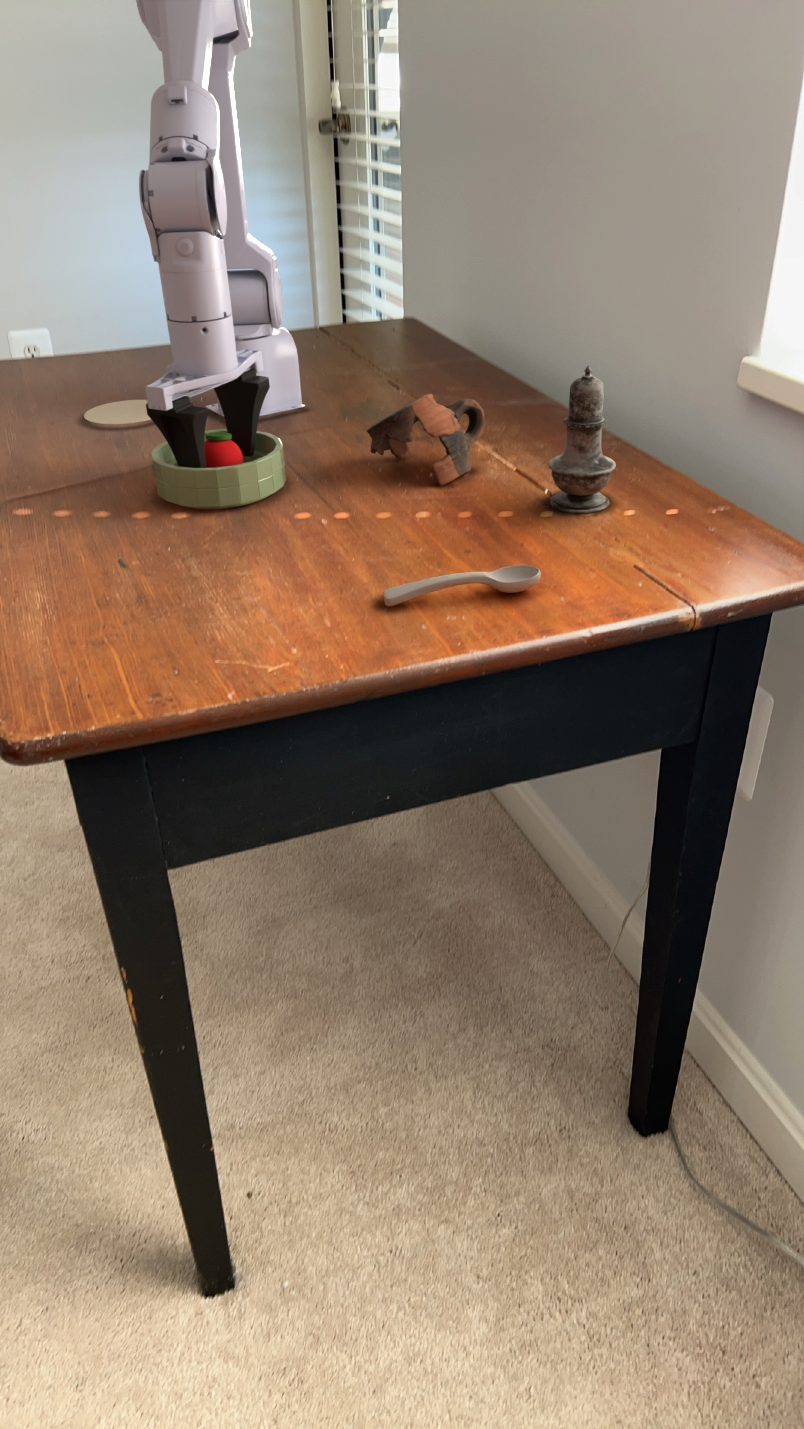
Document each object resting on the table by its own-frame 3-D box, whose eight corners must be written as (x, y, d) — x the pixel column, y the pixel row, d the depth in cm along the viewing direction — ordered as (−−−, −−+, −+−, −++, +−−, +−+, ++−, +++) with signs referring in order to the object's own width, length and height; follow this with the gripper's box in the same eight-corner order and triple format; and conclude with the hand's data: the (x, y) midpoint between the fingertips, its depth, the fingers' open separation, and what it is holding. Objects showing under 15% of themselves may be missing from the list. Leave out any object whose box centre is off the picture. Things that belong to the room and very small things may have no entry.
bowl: (250, 459, 104) (246, 421, 102) (309, 492, 96) (305, 450, 93) (138, 485, 99) (131, 445, 97) (189, 522, 90) (183, 479, 88)
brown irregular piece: (423, 500, 94) (380, 419, 92) (384, 514, 103) (344, 440, 101) (519, 442, 98) (480, 363, 96) (474, 460, 106) (437, 388, 104)
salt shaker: (540, 492, 93) (546, 359, 87) (603, 489, 94) (613, 355, 87) (554, 516, 88) (561, 376, 82) (620, 512, 89) (632, 372, 82)
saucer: (151, 399, 125) (150, 394, 125) (184, 417, 118) (183, 412, 118) (72, 414, 121) (71, 409, 120) (102, 434, 114) (101, 429, 113)
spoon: (546, 593, 75) (545, 568, 74) (389, 620, 74) (386, 596, 73) (535, 577, 78) (534, 553, 77) (383, 603, 77) (380, 579, 76)
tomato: (217, 477, 100) (214, 429, 98) (253, 482, 98) (251, 433, 96) (188, 485, 96) (184, 434, 94) (225, 490, 94) (222, 439, 92)
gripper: (213, 297, 96) (231, 439, 103) (107, 329, 85) (136, 485, 92) (275, 302, 93) (288, 447, 100) (173, 335, 82) (197, 496, 89)
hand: (219, 466), depth 96 cm, fingers open, 7 cm apart
